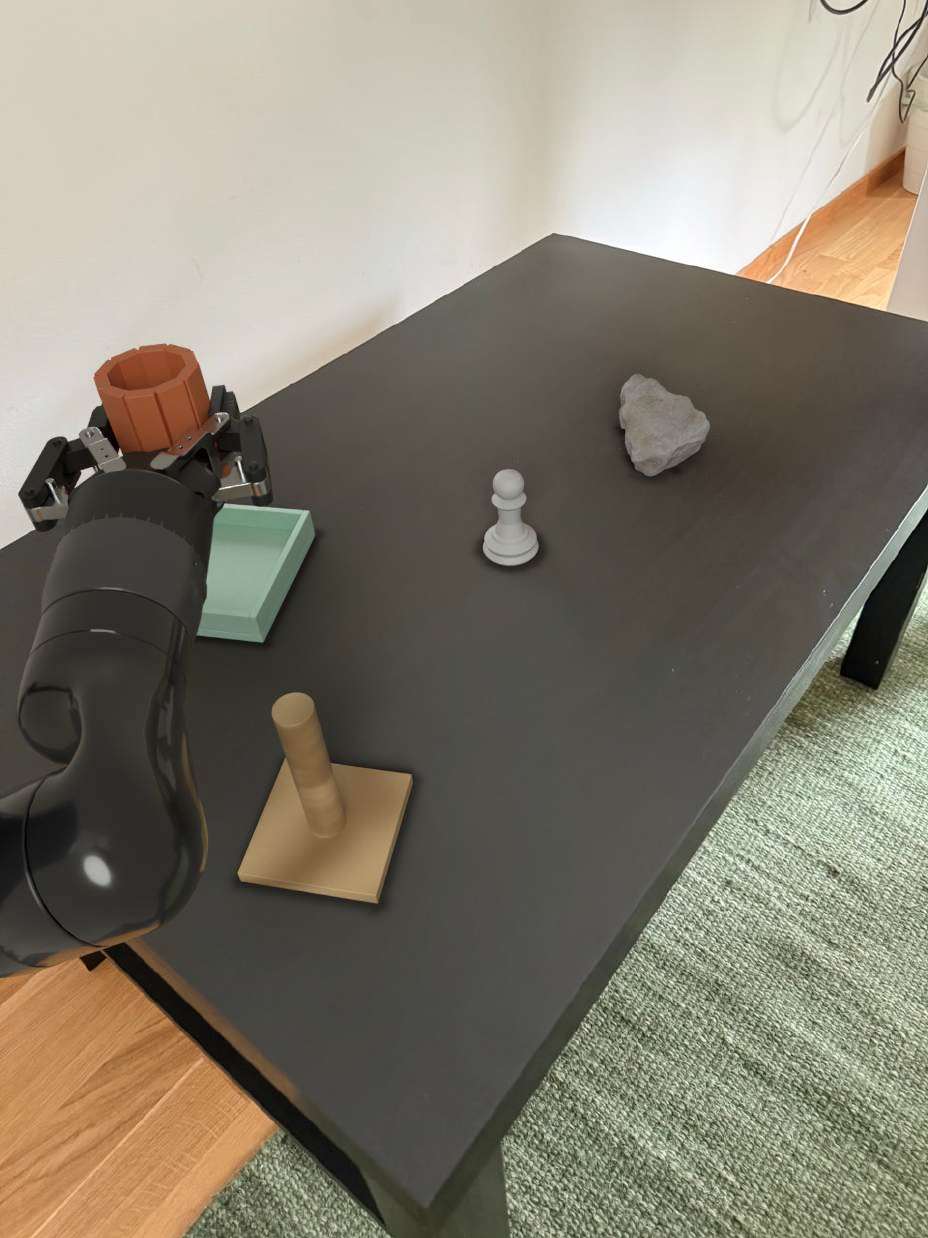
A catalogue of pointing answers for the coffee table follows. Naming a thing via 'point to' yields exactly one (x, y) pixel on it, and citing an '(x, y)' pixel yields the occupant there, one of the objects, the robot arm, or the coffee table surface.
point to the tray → (252, 568)
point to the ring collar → (153, 396)
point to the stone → (659, 425)
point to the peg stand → (324, 816)
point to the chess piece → (509, 523)
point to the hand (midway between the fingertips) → (168, 403)
